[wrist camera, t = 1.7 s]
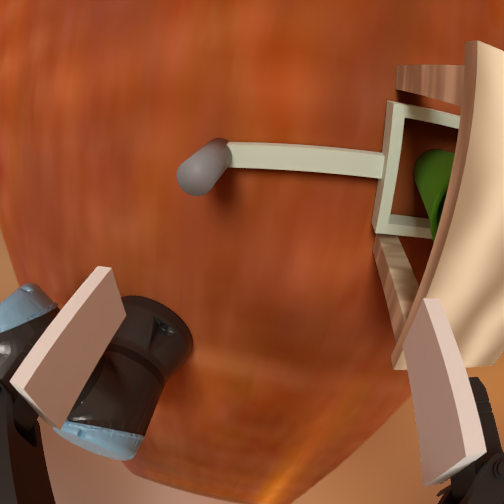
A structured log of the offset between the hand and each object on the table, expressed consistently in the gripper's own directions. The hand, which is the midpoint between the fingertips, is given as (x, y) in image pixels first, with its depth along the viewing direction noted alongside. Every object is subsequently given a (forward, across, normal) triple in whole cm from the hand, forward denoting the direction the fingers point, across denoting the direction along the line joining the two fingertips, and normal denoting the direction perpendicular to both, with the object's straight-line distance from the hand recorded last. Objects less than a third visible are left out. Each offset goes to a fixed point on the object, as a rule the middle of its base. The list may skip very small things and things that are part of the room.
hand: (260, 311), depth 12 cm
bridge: (+23, +16, 0) cm, 27 cm away
